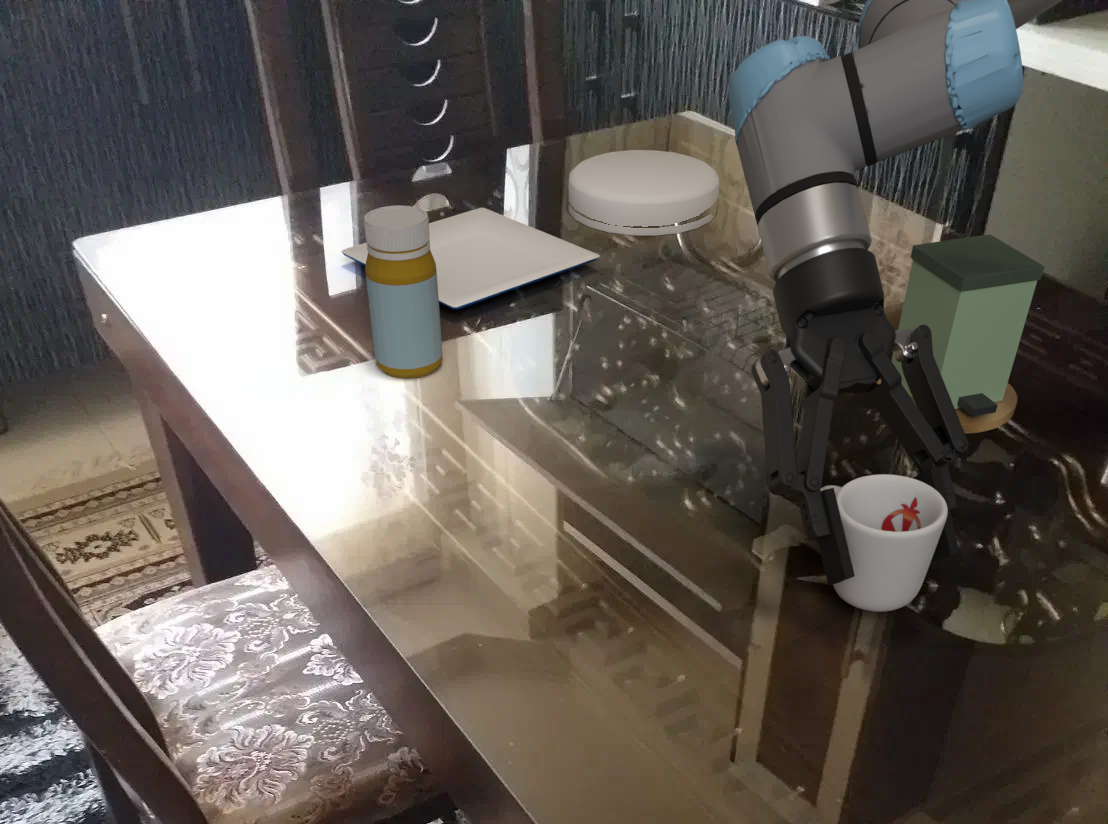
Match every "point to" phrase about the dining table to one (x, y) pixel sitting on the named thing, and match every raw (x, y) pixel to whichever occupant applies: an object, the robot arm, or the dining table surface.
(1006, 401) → the disc
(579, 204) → the container
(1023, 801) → the dining table surface
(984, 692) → the dining table surface
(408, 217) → the bottle
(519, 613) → the dining table surface
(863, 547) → the cup
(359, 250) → the plate
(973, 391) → the bin
